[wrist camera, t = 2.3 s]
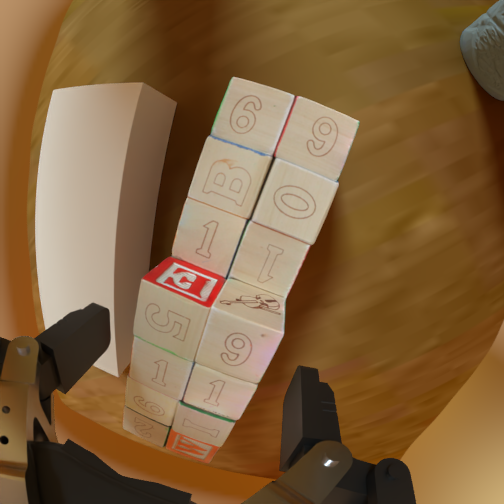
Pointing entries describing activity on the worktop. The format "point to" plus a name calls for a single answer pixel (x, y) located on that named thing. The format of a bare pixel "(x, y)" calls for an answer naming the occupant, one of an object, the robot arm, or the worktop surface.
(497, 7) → the blue cup
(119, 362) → the block
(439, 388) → the worktop surface
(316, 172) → the stack of blocks
